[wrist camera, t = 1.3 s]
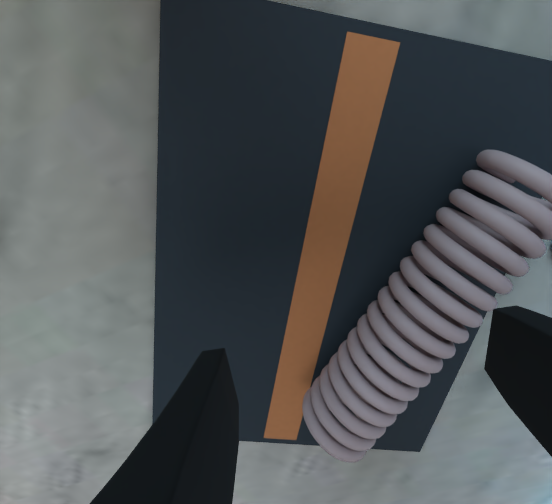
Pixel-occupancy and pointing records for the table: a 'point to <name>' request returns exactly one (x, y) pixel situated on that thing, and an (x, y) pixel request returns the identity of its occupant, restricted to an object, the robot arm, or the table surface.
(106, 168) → the table surface
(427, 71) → the mat
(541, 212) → the coil
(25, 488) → the table surface
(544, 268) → the table surface
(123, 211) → the table surface
